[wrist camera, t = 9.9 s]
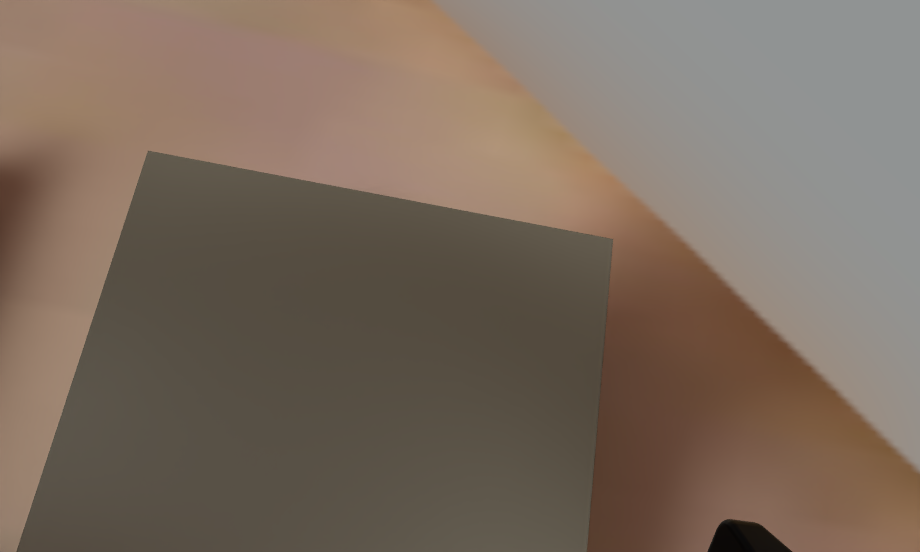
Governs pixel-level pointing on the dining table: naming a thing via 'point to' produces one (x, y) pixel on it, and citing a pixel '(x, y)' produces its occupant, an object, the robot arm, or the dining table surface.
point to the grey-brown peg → (328, 377)
